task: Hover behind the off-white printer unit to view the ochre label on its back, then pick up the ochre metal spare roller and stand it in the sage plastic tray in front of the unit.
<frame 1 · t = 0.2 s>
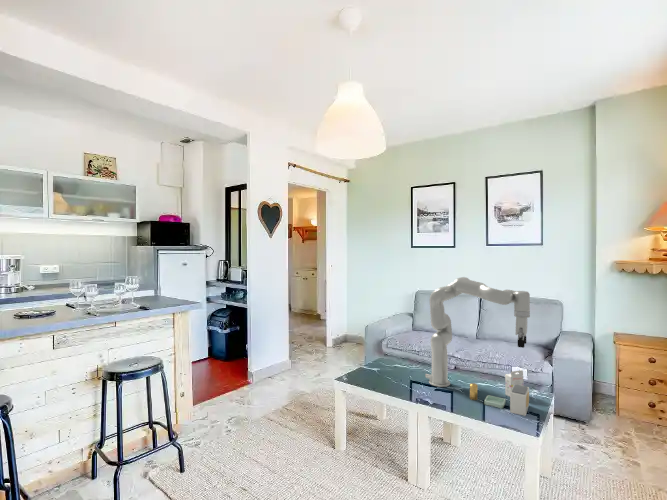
hand: (522, 345, 199), 31 cm above the table, tool pointing down, fingers open, 9 cm apart
ink cartridge box: (514, 395, 208), on the table
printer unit: (519, 409, 190), on the table
spare roller: (473, 398, 203), on the table
tray: (494, 403, 197), on the table
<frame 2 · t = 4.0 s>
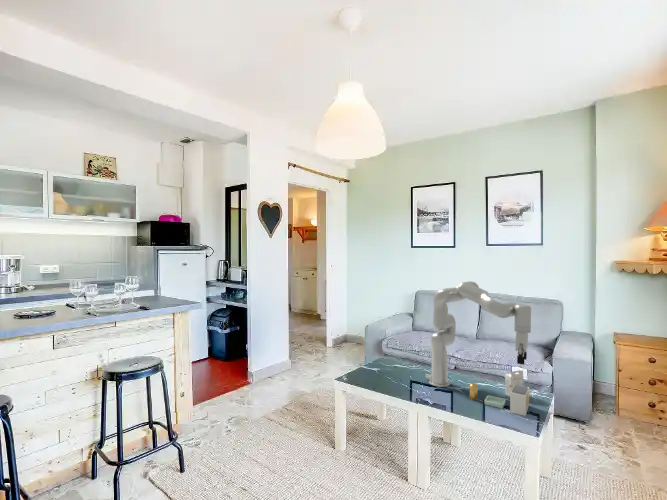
hand: (521, 361, 189), 25 cm above the table, tool pointing down, fingers open, 9 cm apart
nothing on the table moved.
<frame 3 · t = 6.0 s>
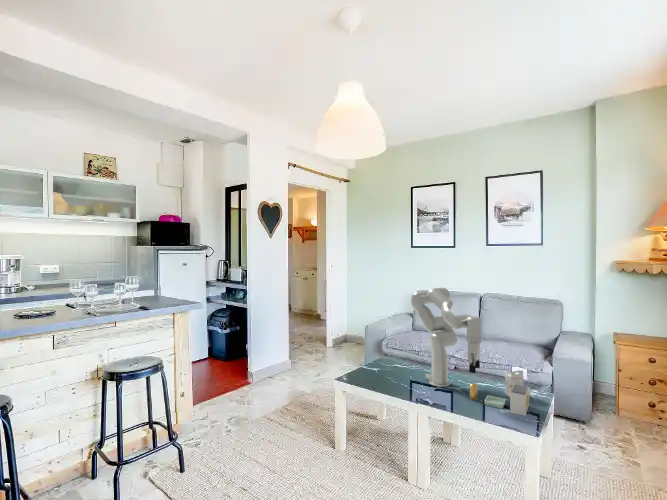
hand: (474, 370, 202), 16 cm above the table, tool pointing down, fingers open, 9 cm apart
nothing on the table moved.
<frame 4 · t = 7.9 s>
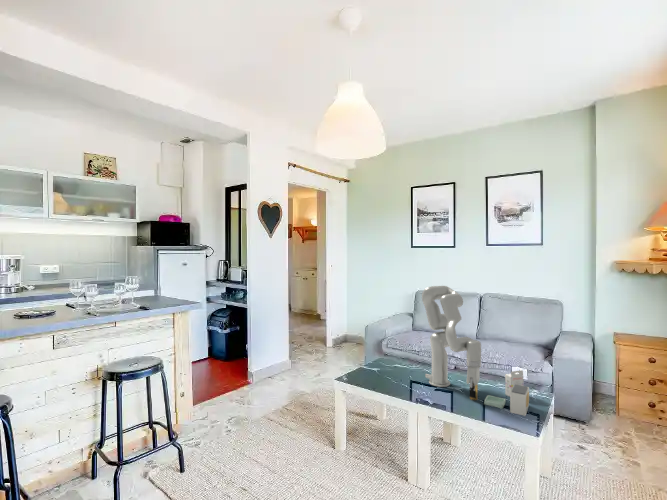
hand: (473, 395, 203), 2 cm above the table, tool pointing down, fingers closed on spare roller, 4 cm apart
spare roller: (473, 398, 203), on the table, touching gripper
everything else where it was.
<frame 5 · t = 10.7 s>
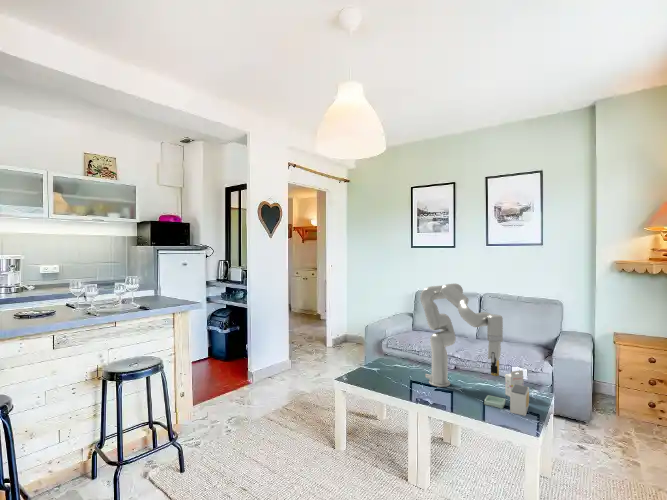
hand: (494, 371, 196), 17 cm above the table, tool pointing down, fingers closed on spare roller, 4 cm apart
spare roller: (495, 374, 196), point 16 cm above the table, touching gripper
everything else where it was.
when the fingers open (4 cm above the table, at t = 13.5 s): spare roller drops 1 cm, resting on tray.
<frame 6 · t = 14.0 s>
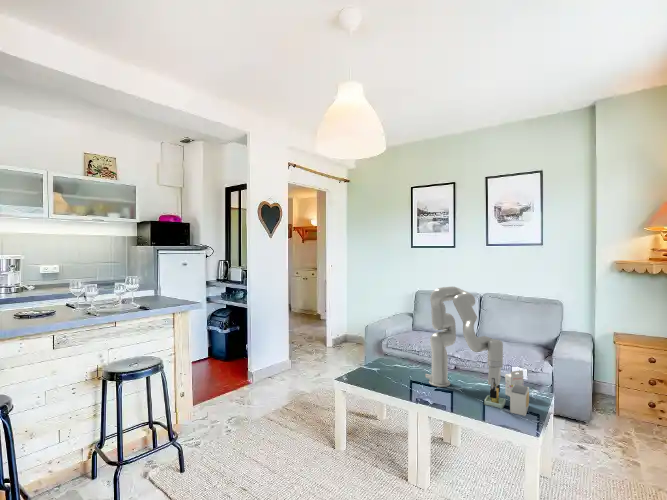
hand: (494, 394, 197), 5 cm above the table, tool pointing down, fingers open, 9 cm apart
spare roller: (494, 402, 197), point 1 cm above the table, touching tray
everything else where it was.
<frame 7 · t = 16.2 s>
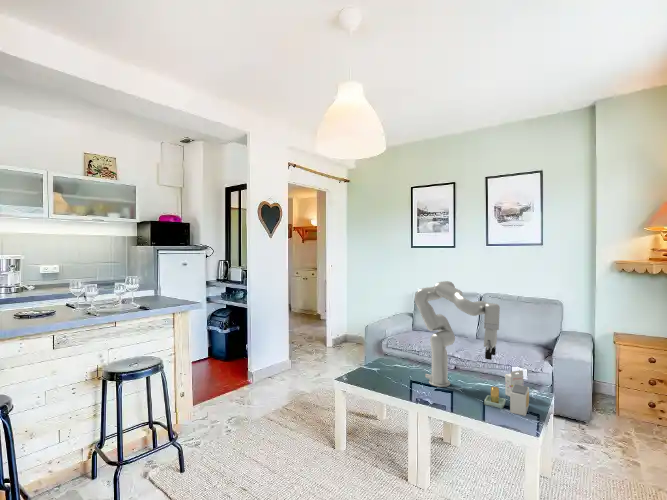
hand: (490, 356, 201), 24 cm above the table, tool pointing down, fingers open, 9 cm apart
nothing on the table moved.
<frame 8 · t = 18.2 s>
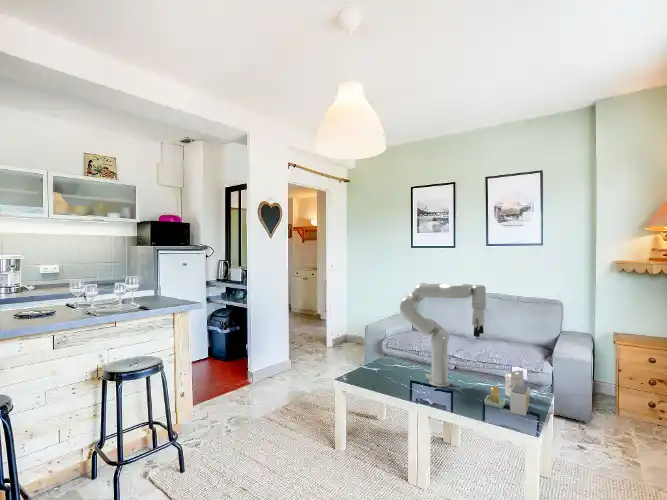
hand: (478, 334, 216), 32 cm above the table, tool pointing down, fingers open, 9 cm apart
nothing on the table moved.
at the end: spare roller 0.1 cm off-centre on the tray, point 0.5 cm above the tray's base; spare roller tilted 0°; the gripper is holding nothing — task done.
